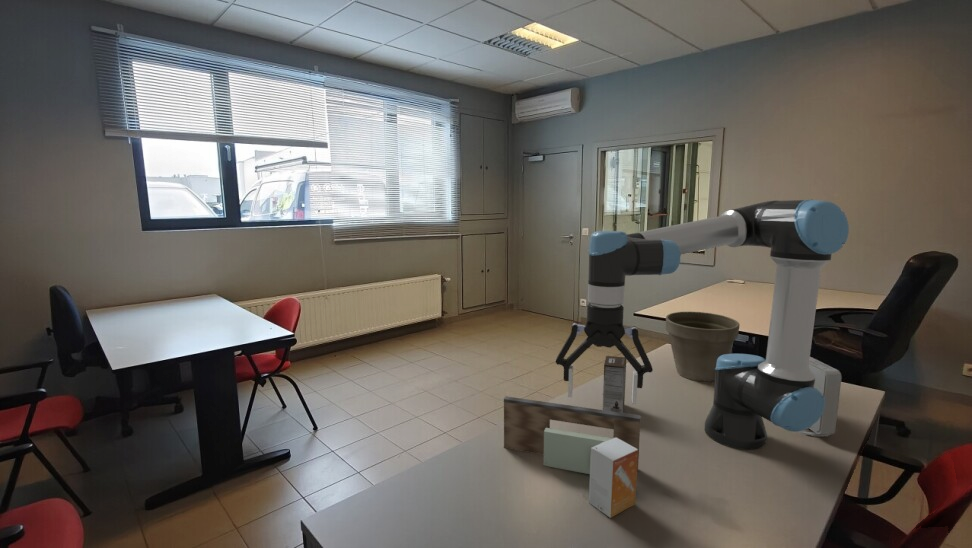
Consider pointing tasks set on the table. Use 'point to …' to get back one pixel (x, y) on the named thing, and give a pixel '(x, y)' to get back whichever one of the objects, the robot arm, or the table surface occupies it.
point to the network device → (830, 389)
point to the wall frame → (534, 416)
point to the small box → (613, 476)
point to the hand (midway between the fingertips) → (601, 398)
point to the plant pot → (700, 342)
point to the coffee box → (614, 384)
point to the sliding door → (569, 449)
